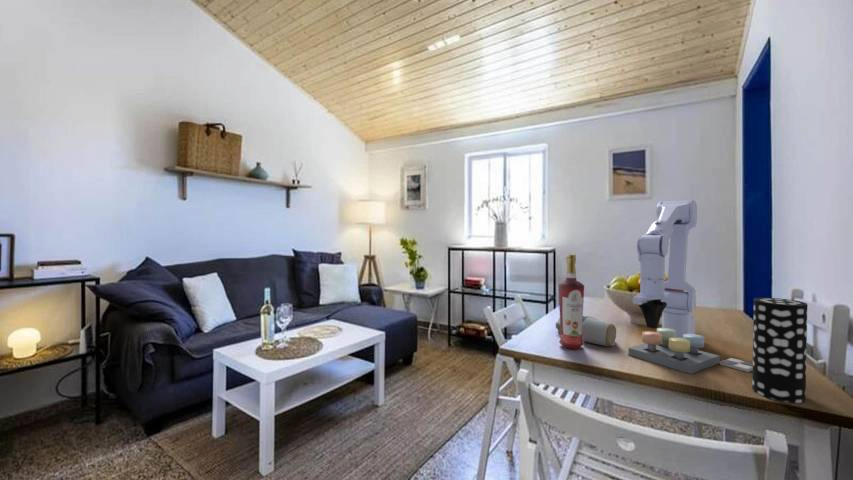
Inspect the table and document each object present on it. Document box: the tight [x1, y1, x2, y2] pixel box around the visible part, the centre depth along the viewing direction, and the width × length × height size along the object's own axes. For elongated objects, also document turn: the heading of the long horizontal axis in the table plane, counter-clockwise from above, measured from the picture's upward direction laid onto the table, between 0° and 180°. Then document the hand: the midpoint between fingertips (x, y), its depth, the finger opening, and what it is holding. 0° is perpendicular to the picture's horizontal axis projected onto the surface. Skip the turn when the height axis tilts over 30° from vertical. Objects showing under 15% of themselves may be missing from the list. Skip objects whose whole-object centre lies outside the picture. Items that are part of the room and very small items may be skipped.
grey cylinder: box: [582, 316, 617, 347], centre depth 116 cm, size 11×8×8 cm
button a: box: [656, 327, 676, 348], centre depth 106 cm, size 5×5×5 cm
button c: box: [641, 330, 662, 352], centre depth 103 cm, size 5×5×5 cm
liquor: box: [557, 254, 585, 350], centre depth 112 cm, size 7×7×28 cm
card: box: [719, 357, 753, 373], centre depth 96 cm, size 6×6×1 cm
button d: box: [669, 338, 690, 360], centre depth 97 cm, size 5×5×5 cm
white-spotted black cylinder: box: [751, 297, 809, 404], centre depth 80 cm, size 8×8×20 cm
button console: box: [628, 342, 720, 375], centre depth 101 cm, size 14×16×2 cm
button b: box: [683, 333, 705, 355], centre depth 100 cm, size 5×5×5 cm
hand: (651, 327), depth 103 cm, fingers closed
